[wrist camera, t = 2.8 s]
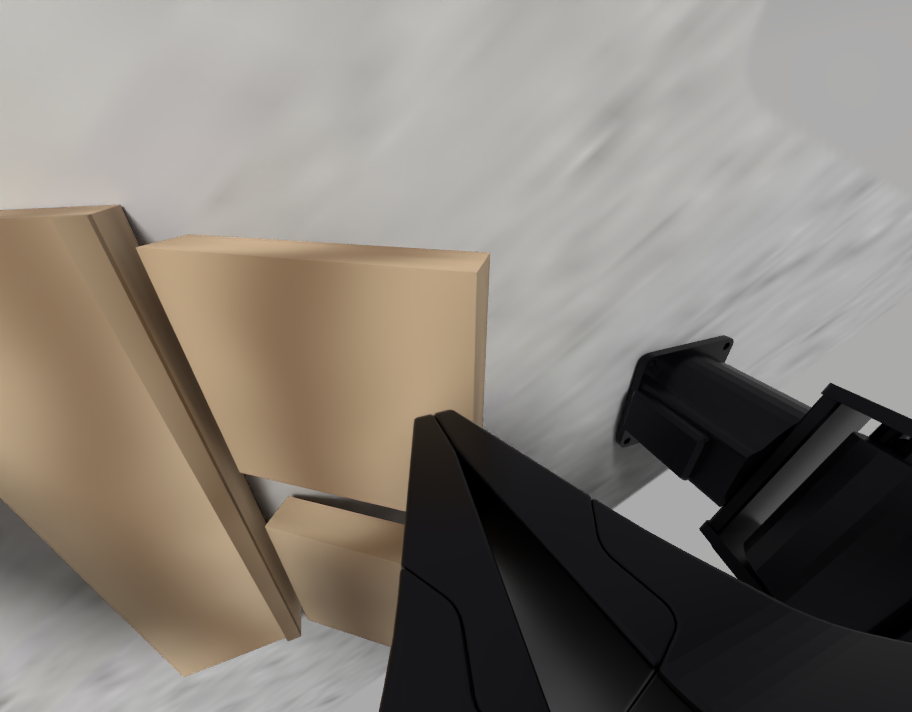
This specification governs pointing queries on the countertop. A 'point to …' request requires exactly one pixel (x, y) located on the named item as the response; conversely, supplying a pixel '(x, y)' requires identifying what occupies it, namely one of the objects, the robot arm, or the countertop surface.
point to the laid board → (126, 445)
